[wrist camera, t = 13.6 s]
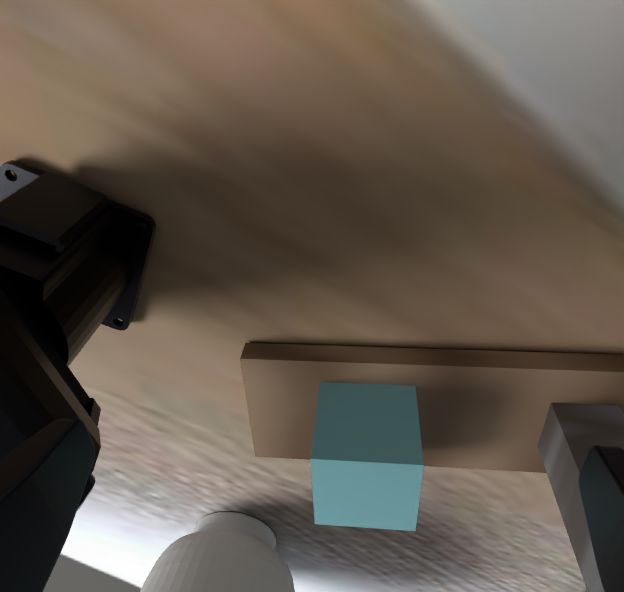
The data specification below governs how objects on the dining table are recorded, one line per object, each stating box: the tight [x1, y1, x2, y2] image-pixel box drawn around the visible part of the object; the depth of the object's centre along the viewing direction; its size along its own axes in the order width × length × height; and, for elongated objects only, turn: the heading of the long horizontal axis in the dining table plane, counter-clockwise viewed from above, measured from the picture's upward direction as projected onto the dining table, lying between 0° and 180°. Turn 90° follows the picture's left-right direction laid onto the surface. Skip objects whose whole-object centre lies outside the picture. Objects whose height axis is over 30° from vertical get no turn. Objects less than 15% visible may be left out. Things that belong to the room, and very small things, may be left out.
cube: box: [311, 382, 424, 531], centre depth 23 cm, size 4×4×4 cm
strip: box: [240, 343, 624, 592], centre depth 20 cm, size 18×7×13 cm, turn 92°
